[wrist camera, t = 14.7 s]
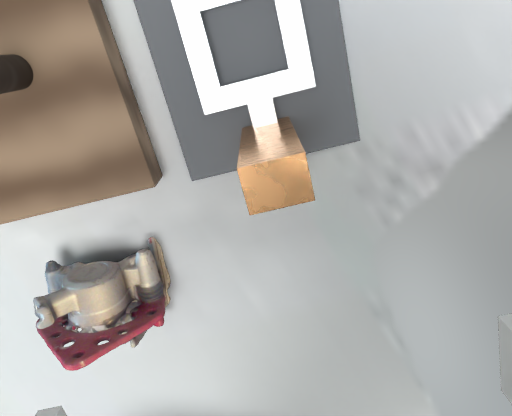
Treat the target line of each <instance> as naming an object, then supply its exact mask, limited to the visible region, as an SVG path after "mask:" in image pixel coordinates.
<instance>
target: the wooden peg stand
mask: <svg viewBox="0 0 512 416" xmlns="http://www.w3.org/2000/svg"><path fill="white" fill-rule="evenodd" d="M161 177H162V173H161V170H160V167H159V164H158V162H157V159H156V156H155V153H154V150H153V147H152V144H151V142H150V139H149V136H148V133H147V130H146V127H145V124H144V122H143V119H142V116H141V113H140V110H139V107H138V104H137V102H136V99H135V96H134V93H133V90H132V87H131V84H130V82H129V79H128V76H127V73H126V70H125V67H124V64H123V62H122V59H121V56H120V53H119V50H118V47H117V44H116V42H115V39H114V36H113V33H112V30H111V27H110V24H109V22H108V19H107V16H106V13H105V10H104V7H103V4H102V2H101V0H0V224H4V223H8V222H12V221H16V220H21V219H25V218H29V217H33V216H37V215H41V214H45V213H49V212H54V211H58V210H62V209H66V208H70V207H74V206H78V205H82V204H87V203H91V202H95V201H99V200H103V199H107V198H111V197H115V196H120V195H124V194H128V193H132V192H136V191H140V190H144V189H148V188H153V187H155V186H156V185H157V183H158V182H159V180H160V179H161Z"/></svg>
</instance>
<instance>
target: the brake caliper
mask: <svg viewBox="0 0 512 416" xmlns="http://www.w3.org/2000/svg"><path fill="white" fill-rule="evenodd" d="M148 245H149V249H150V250H148V249H141V250H139V251H138V252H137V253H136V254H133V255H130V256H128V257H126V258H124V259H123V260H121V261H120V262H111V261H96V262H91V263H87V264H84V263H81V262H76V263H73V264H71V265H68V266H61V265H59V264H57V263H56V262H55V261H49V262H47V263H46V271H45V277H46V281H47V284H48V293H49V294H48V295H45V296H41V297H36V298H34V300H33V302H34V307H35V315H36V316H37V317H39V319H38V321H37V323H36V328H37V331H38V333H39V334H40V335H41V337H42V338H43V339H44V340H45V342H46V344H47V346H48V347H49V348H50V349H51V351H52V352H53V354H54V355H55V356H56V357H57V359H58V360H59V361H60V362H61V364H62V366H63V367H64V368H65V369H66V370H78V369H81V368H83V367H85V366H87V365H89V364H90V363H92V362H93V361H95V360H96V359H98V358H99V357H101V356H103V355H105V354H106V353H108V352H109V351H111V350H113V349H115V348H116V347H118V346H120V345H122V344H125V343H127V342H128V341H130V344H131V347H132V348H134V347H136V346H137V345H138V343H139V341H140V340H141V339H142V338H143V336H144V334H145V333H146V331H147V329H149V328H150V327H152V326H153V325H154V326H157V327H160V326H163V324H164V318H163V317H164V314H165V307H166V306H167V305H168V304H169V302H170V297H169V296H168V293H167V290H168V288H169V286H170V277H169V273H168V271H167V268H166V267H165V263H164V260H163V253H162V250H161V247H160V245H159V244H158V242H157V241H156V239H155V238H153V237H151V238H149V239H148ZM78 328H82V330H81V331H80V332H79V331H78ZM75 329H76V330H75ZM58 336H59V337H58ZM104 340H108V341H109V342H108V343H105V344H102V345H97V344H98V343H100V342H101V341H104ZM69 342H74V344H73V345H71V346H69V347H63V346H64V345H65V344H67V343H69Z"/></svg>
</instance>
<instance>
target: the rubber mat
mask: <svg viewBox="0 0 512 416" xmlns="http://www.w3.org/2000/svg"><path fill="white" fill-rule="evenodd" d="M134 3H135V6H136V9H137V12H138V15H139V18H140V22H141V25H142V28H143V31H144V34H145V37H146V40H147V43H148V46H149V49H150V53H151V56H152V59H153V62H154V65H155V68H156V71H157V74H158V77H159V80H160V83H161V87H162V90H163V93H164V96H165V99H166V102H167V105H168V108H169V111H170V114H171V118H172V121H173V124H174V127H175V130H176V133H177V136H178V139H179V142H180V145H181V148H182V152H183V155H184V158H185V161H186V164H187V167H188V170H189V173H190V176H191V179H192V181H195V180H199V179H203V178H207V177H211V176H215V175H220V174H224V173H228V172H232V171H236V170H237V163H238V155H239V148H240V140H241V132H242V128H244V127H248V126H252V125H253V124H252V120H251V116H250V112H249V108H248V104H245V105H241V106H237V107H234V108H230V109H226V110H222V111H218V112H214V113H210V114H206V115H205V113H204V110H203V107H202V103H201V100H200V96H199V93H198V90H197V86H196V83H195V79H194V76H193V72H192V69H191V66H190V62H189V59H188V55H187V52H186V49H185V45H184V42H183V38H182V35H181V31H180V28H179V25H178V21H177V18H176V14H175V11H174V7H173V4H172V1H171V0H134ZM300 4H301V10H302V15H303V20H304V26H305V31H306V36H307V42H308V47H309V52H310V58H311V63H312V68H313V74H314V79H315V84H316V87H312V88H308V89H304V90H300V91H296V92H292V93H288V94H284V95H280V96H277V97H273V98H272V99H273V104H274V108H275V113H276V117H277V119H280V118H284V117H288V116H289V119H290V121H291V123H292V125H293V127H294V129H295V131H296V134H297V136H298V138H299V140H300V142H301V144H302V146H303V148H304V151H305V154H306V153H311V152H315V151H319V150H323V149H327V148H331V147H335V146H339V145H344V144H348V143H352V142H356V141H360V137H359V131H358V124H357V118H356V111H355V105H354V98H353V92H352V85H351V79H350V73H349V66H348V60H347V53H346V47H345V40H344V34H343V27H342V21H341V15H340V8H339V2H338V0H300ZM202 15H203V19H204V23H205V26H206V30H207V34H208V38H209V41H210V45H211V49H212V52H213V56H214V60H215V63H216V67H217V71H218V75H219V78H220V82H221V85H225V84H228V83H232V82H236V81H240V80H244V79H248V78H251V77H255V76H259V75H263V74H267V73H270V72H274V71H278V70H282V69H286V68H288V67H287V63H286V58H285V53H284V48H283V43H282V39H281V34H280V29H279V24H278V20H277V15H276V10H275V5H274V0H245V1H242V2H238V3H235V4H231V5H227V6H224V7H220V8H217V9H213V10H209V11H206V12H202Z"/></svg>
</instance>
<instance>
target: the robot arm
mask: <svg viewBox="0 0 512 416" xmlns="http://www.w3.org/2000/svg"><path fill="white" fill-rule="evenodd" d="M498 331H499V354H500V375H501V390H502V392H503V393H504V395H505V396H506V397H507V399H508V400H509V401H510V403H511V404H512V313H511V314H507V315H501V316H498ZM35 416H67V415H66V413H65V411H64V410H63V408H62V406H58V407H53V408H48V409H43V410H39V411H38V412H37V413H36V415H35Z"/></svg>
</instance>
